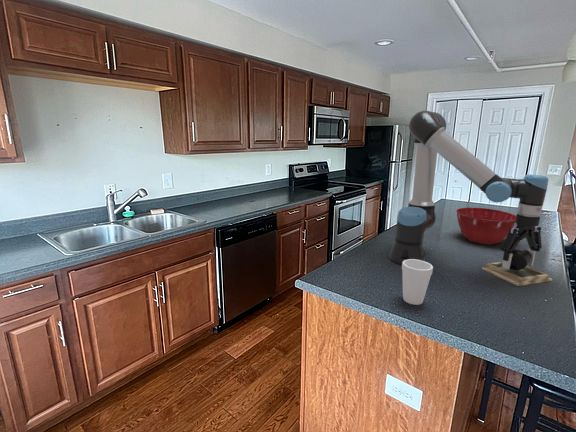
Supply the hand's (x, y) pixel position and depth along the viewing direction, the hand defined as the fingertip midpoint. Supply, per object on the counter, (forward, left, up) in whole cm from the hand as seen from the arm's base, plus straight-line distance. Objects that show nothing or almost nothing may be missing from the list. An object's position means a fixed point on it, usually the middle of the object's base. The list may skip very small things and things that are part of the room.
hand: (517, 266), depth 129 cm
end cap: (0, 0, -1) cm, 1 cm away
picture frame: (0, 0, -4) cm, 4 cm away
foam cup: (-55, -7, -4) cm, 56 cm away
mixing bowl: (+24, +39, -4) cm, 46 cm away
